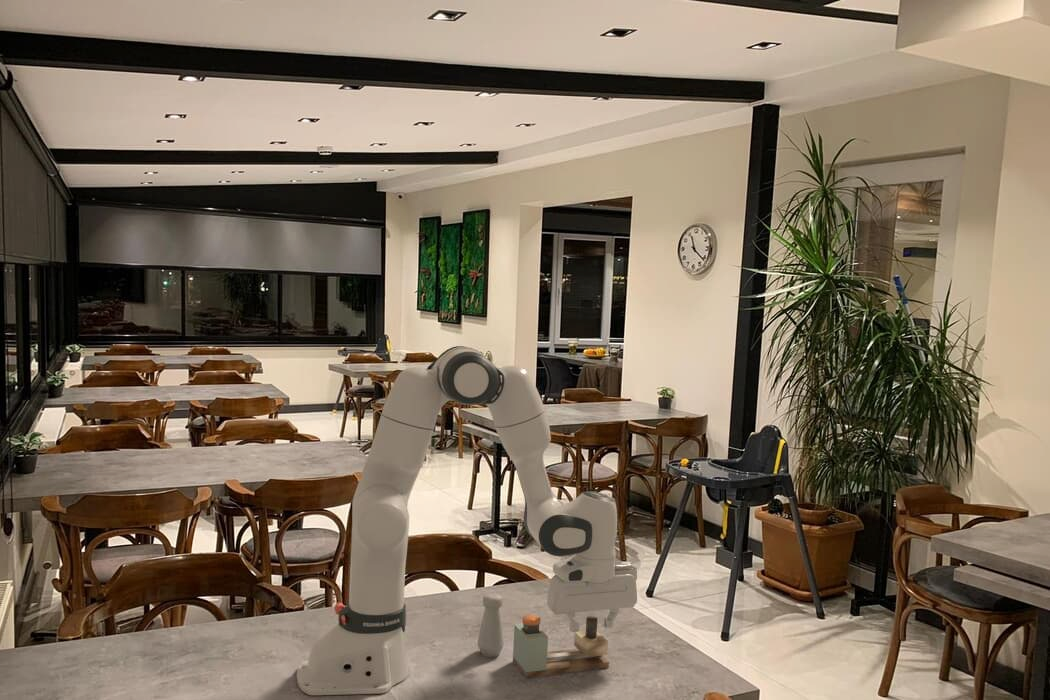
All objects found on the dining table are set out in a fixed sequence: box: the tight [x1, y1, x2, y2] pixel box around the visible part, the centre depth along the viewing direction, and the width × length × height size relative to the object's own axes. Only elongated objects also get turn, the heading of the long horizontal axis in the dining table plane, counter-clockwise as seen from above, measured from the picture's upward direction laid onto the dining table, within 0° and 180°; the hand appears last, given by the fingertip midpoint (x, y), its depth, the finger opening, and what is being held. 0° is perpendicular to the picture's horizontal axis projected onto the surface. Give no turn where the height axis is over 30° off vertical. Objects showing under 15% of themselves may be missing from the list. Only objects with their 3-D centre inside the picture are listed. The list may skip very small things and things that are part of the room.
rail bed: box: [512, 648, 610, 679], centre depth 176 cm, size 19×8×2 cm, turn 110°
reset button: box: [522, 614, 541, 634], centre depth 173 cm, size 4×4×5 cm
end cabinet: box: [512, 622, 549, 672], centre depth 173 cm, size 5×8×7 cm, turn 20°
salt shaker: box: [477, 593, 505, 658], centre depth 179 cm, size 6×6×13 cm
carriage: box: [573, 615, 609, 657], centre depth 178 cm, size 5×6×7 cm
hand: (591, 629), depth 178 cm, fingers open, 7 cm apart
